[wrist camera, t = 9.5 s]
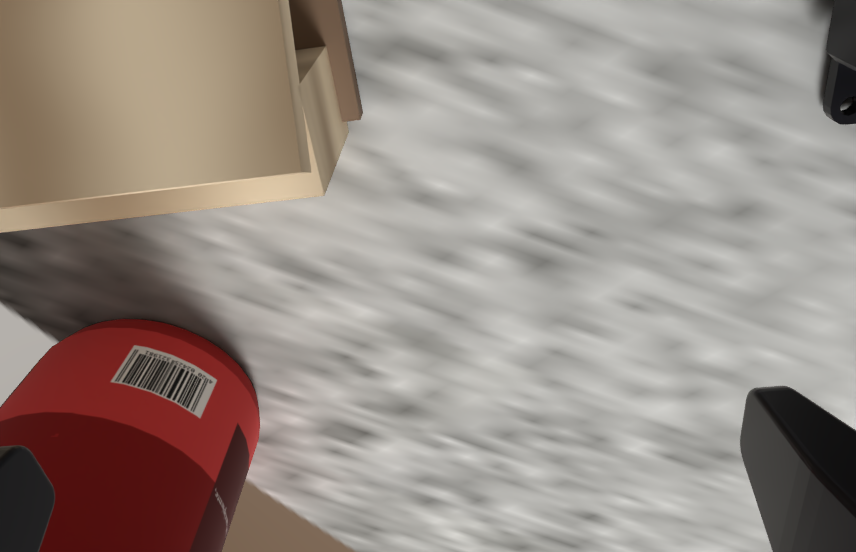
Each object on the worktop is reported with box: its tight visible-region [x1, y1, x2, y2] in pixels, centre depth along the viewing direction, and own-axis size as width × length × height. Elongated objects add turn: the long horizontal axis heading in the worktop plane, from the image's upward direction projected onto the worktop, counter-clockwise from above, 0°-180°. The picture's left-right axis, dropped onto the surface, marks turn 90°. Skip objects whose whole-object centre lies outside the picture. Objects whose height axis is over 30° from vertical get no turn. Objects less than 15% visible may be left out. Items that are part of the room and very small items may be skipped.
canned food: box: [0, 319, 260, 552], centre depth 20 cm, size 8×8×11 cm
